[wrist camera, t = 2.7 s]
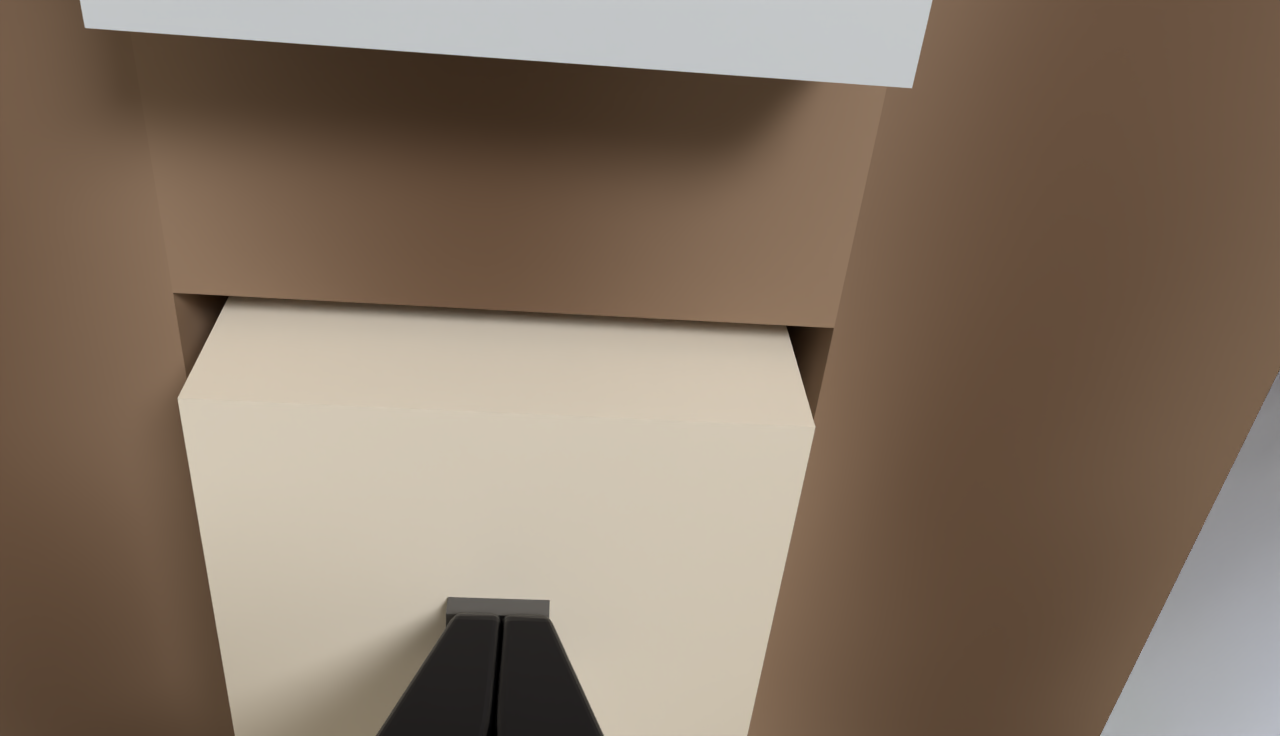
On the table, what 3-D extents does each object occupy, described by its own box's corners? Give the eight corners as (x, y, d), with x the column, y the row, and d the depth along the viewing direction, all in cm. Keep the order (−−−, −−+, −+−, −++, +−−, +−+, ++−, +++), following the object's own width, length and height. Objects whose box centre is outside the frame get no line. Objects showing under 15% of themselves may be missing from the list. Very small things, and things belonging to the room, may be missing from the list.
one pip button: (764, 251, 12) (820, 442, 9) (705, 597, 14) (734, 822, 12) (266, 222, 11) (169, 414, 8) (304, 584, 14) (240, 815, 11)
